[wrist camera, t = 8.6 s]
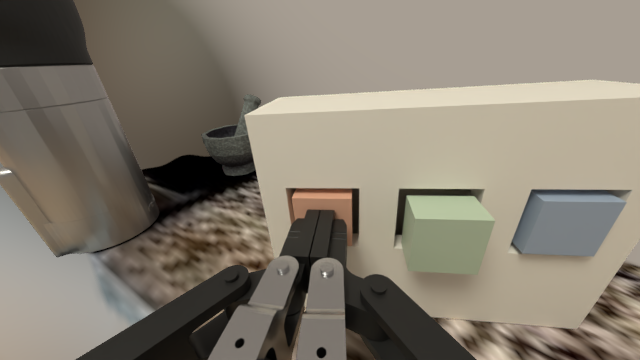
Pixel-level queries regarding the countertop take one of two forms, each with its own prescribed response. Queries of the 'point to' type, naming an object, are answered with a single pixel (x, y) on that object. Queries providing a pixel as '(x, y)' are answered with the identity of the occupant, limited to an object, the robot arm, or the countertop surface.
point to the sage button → (445, 234)
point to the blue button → (566, 221)
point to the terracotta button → (325, 204)
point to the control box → (462, 182)
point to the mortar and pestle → (233, 143)
